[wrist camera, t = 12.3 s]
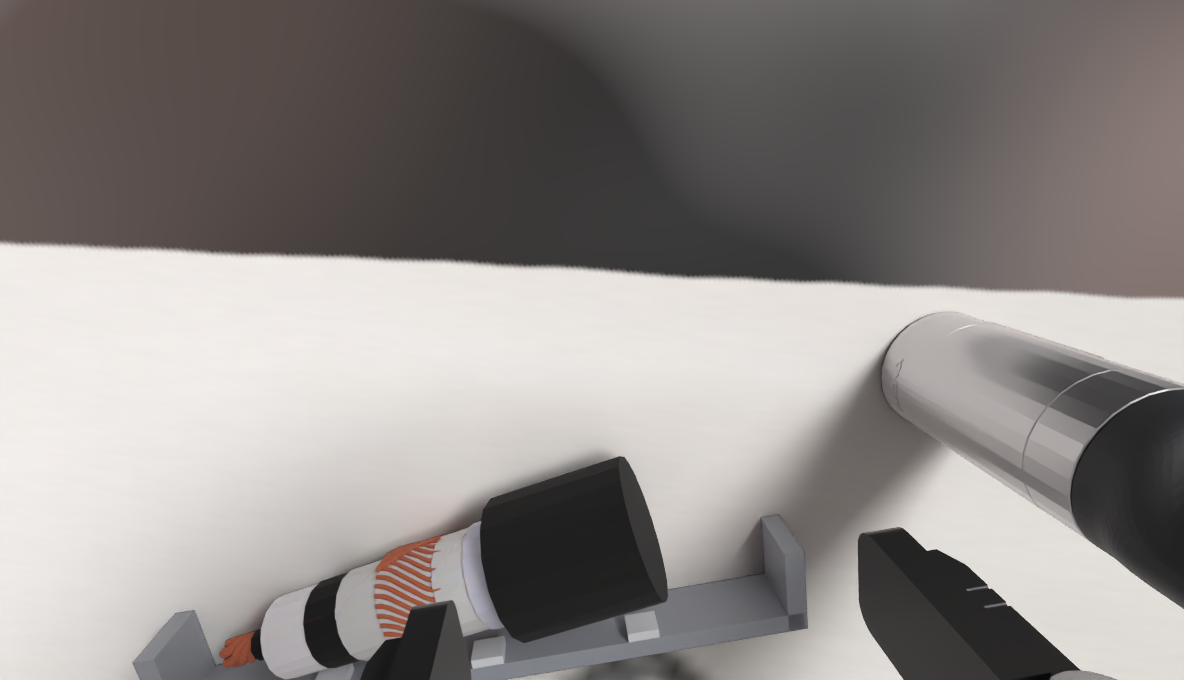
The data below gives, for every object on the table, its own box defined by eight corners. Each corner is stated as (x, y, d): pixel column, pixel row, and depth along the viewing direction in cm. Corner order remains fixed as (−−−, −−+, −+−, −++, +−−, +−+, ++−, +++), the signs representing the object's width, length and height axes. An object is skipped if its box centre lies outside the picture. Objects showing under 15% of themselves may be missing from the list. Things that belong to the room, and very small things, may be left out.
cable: (266, 572, 51) (162, 606, 42) (629, 452, 47) (609, 459, 37) (289, 692, 49) (185, 758, 40) (671, 580, 45) (662, 623, 35)
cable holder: (778, 514, 48) (804, 551, 44) (782, 585, 50) (807, 628, 45) (175, 613, 47) (132, 662, 42) (203, 682, 49) (164, 737, 44)
